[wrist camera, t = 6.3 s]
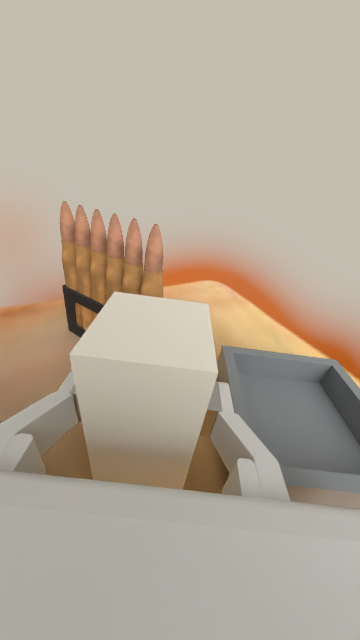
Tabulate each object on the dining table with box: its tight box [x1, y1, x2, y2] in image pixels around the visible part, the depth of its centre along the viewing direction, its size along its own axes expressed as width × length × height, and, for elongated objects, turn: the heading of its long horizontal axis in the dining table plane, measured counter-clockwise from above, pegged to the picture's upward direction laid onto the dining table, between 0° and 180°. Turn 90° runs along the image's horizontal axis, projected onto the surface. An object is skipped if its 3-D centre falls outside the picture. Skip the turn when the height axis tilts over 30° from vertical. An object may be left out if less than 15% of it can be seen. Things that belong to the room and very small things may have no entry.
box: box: [216, 346, 360, 509], centre depth 15 cm, size 10×10×3 cm
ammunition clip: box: [60, 201, 163, 337], centre depth 18 cm, size 11×2×12 cm, turn 57°
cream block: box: [69, 292, 218, 490], centre depth 10 cm, size 4×4×10 cm
